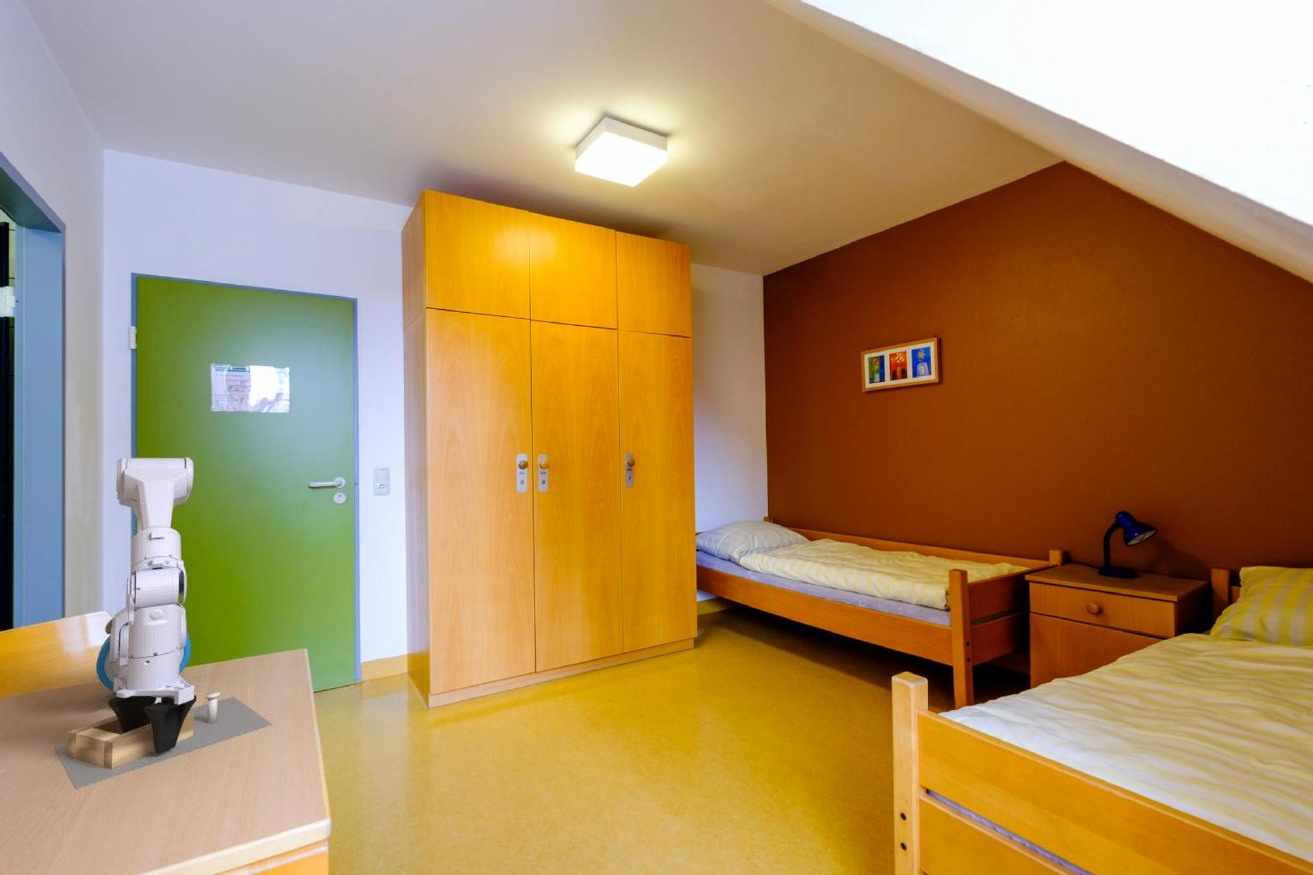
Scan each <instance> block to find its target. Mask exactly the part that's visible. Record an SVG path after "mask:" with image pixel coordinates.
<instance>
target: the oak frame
mask: <svg viewBox="0 0 1313 875" xmlns="http://www.w3.org/2000/svg"><path fill="white" fill-rule="evenodd" d="M193 719H194V712H191V711H189V712H188V714H187V716H186V718H185V720H184V722H183V725H182V727H181V730H180V733H179V737H178V740H177V742H178V741H180V740H183V739H185V738H188V737H190V736H192V735H193ZM67 736H68V737H67V738H68V739H67V743H68V756H67V757H70V758H73V759H77V760H81V761H84V762H88V763H92V764H95V765H99V766H102V767H106V768H110V769H113V768H116V767H118V766H120V765H123V764H125V763H128V762H130V761H132V760H135V759H137V758H140V757H142V756H144V755H147V754H149V753H152V752H154V751H155V748H154V740H153V730H152V726H151V723H150V724H148V725H145V726H143V727H140V728H137V729H135V730H132V731H129V732H127V733H124V734H123V731H122V727H121V724H120V722H119V720H118V718H117V716H116V715H114V716H110V717H107V718H104V719H102V720H98V721H96V722H93V723H90V724H87V725H83V726H81V727H79V728H75V729H72V730H69V731H68V735H67Z"/></svg>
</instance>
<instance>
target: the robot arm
mask: <svg viewBox="0 0 1313 875" xmlns="http://www.w3.org/2000/svg"><path fill="white" fill-rule="evenodd" d="M116 462H117V464H116V488H115V490H116V493H117V495H116V496H117V497H116V500H118V504H119V505H120V506H125V507H127V508H131V509H132V510H133V512H134V515H135V518H136V520H137V521H136V522H137V523H136V528H137V529H136V534H135V535H134V536H133V537H132V539H131V551H130V553H131V554H130V556H131V557H130V558H131V559H130V575H128V576H127V578H126V591H125V593H126V596H125V598H126V599H125V607H124V608H123V609H121V610H118V612H116V614H114V617H112V618H113V619H112V618H111V619H112V628H111V634H110V635H111V639H110V660H112V661H113V662H118V656H119V649H120V656H119V666H120V668H119V671H118V678H115V679H114V691H113V692H114V693H116V697H114V698H110V699H109V700H108V703H107V705H108V707H109V708H111V710H112V711H113V712H114V714H115V716H117V718H118V720H119V722H120V724H121V727H122V731H123V734H124V733H127V732H129V731H132V730H135V729H137V728H140V727H143V726H145V725H148V724H150V723H151V726H152V730H153V740H154V748H155V751H156V753H158V754H160V753H163V752H165V751H167V750H170V749H172V748H174V747H175V746H176V743H177V740H178V737H179V733H180V730H181V727H182V725H183V722H184V720H185V718H186V716H187V714H188V712H189V710H190V709H191V708H193V705H194V704H195V703H196V701H197V695H195V685H192V684H189V683H188V682H187V681H186V680H185V679H184V678H183V677H182V676H181V675H180V674H179V662H180V650H182V648H184V647H185V645H186V631H187V615H186V608H185V607H184V606H183V605H184V604H185V601H186V597H187V589H188V587H187V586H188V581H187V572H186V568H185V564H184V560H182V542H181V535H180V533H179V532H178V531H177V529H174V528H172V527H171V526H172V525H171V524H172V517H173V509H174V508H175V506H178V505H181V504H185V503H186V502H188V498H190V496H191V492H192V489H193V485H194V484H193V482H194V462H193V460H192V459H191V458H190V457H189V456H188V457H187V456H186V457H177V458H175V457H172V458H171V457H168V458H167V457H164V458H163V457H151V458H150V457H128V458H127V457H126V456H122V457H121V458H119V459H118V460H117V461H116ZM179 595H180V597H181V603H179ZM127 622H128V623H127ZM120 628H121V630H120Z"/></svg>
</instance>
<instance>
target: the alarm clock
mask: <svg viewBox="0 0 1313 875" xmlns="http://www.w3.org/2000/svg"><path fill="white" fill-rule="evenodd" d="M113 618H114V617H112V618H111V619H109V621H108V622H107V623H106V625H105V627H104V630H105V633H106V634H107V635H108V637H107V638H106V640H105V641H104V642H103V644H102V646H101V647H100V650H99V653H98V656H97V659H96V663H95V664H96V666H95V669H96V676H97V677H98V680H99V681H100V682H101V684H102V685H103V686H105V688H107V689H108V690H110V691H112V692H114V679H115V678H118V671H119V668H120V666H119V656H120V649H119V656H118V662H113V661H112V660H110V639H111V628H112V619H113ZM127 623H128V622H127ZM120 630H121V628H120ZM191 654H192V645H191V639H190V634H189V632H188V631H187V630H186V645H185V647H184V648H182V650H180V662H179V675H180V674H181V673H183V671H184V670H185V668H186V666H187V664H188V663H189V662H190V658H191Z"/></svg>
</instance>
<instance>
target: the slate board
mask: <svg viewBox="0 0 1313 875" xmlns="http://www.w3.org/2000/svg"><path fill="white" fill-rule="evenodd" d="M220 696H221V692H220V691H212V692H209V693H207V694H205V700H207V703H206V704H205V703H204V704H202V705H199V706H195V707H191V709H190V710H189V711H191V712H194V719H193V735H192V736H190V737H188V738H185V739H183V740H180V741H178V742H177V743H176V746H175V747H174V748H172V749H170V750H167V751H165V752H163V753H160V754H158V753H156V751H154V752H152V753H149V754H147V755H144V756H142V757H140V758H137V759H135V760H132V761H130V762H128V763H125V764H123V765H120V766H118V767H116V768H113V769H110V768H106V767H102V766H99V765H95V764H92V763H88V762H84V761H81V760H77V759H73V758H70V757H67V756H68V742H65V743H63V744H62V743H61V744H59V745H56V746H55V745H54V746H53V748H54V750H55V752H56V753H57V757H58V758H59V759H60V761H61V764H62V765H63V768H64V769H65V771H66V773H67V775H68V777H69V779H70V781H71V783H72V785H73V787H74V789H75V790H78V789H81V788H83V787H84V788H85V787H87V786H89V785H90V786H91V785H92V784H95V783H100V782H102V781H105V780H108V779H112V778H114V777H117V776H120V775H124V774H127V773H129V772H133V771H135V770H138V769H141V768H142V769H143V768H145V767H148V766H150V765H151V766H152V765H154V764H157V763H160V762H164V761H167V760H169V759H172V758H176V757H178V756H181V755H185V754H187V753H190V752H194V751H196V750H197V751H198V750H200V749H203V748H205V747H209V746H212V745H215V744H218V743H221V742H224V741H228V740H230V739H234V738H236V737H237V738H238V737H240V736H242V735H246V734H248V733H252V732H255V731H258V730H260V729H263V728H267V727H271V726H273V725H274V724H273V723H272V722H270V721H269V720H267V719H266V718H264V717H263V716H261V715H260V714H259V713H257V712H256V711H255V710H254V709H252V708H250V707H249V706H248V705H246V704H245V703H243V702H242V701H241V700H239V699H238V698H236V697H235V696H231V697H227V698H224V699H221V700H218V697H220Z"/></svg>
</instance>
